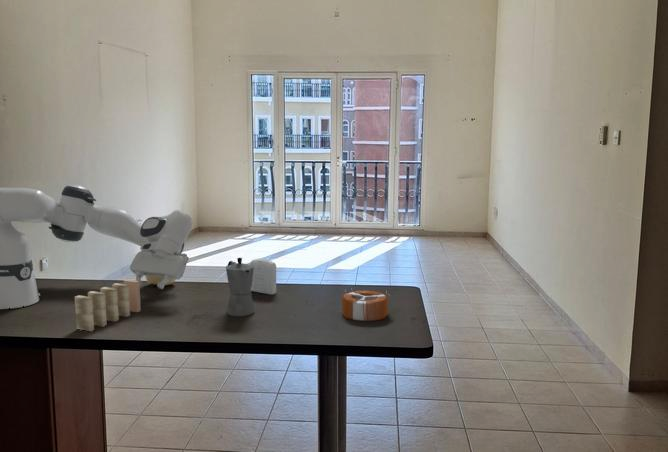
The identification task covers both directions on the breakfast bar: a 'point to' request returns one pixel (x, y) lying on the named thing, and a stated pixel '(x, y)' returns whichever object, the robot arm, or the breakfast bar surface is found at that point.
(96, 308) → the domino
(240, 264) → the coffeepot
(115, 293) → the domino
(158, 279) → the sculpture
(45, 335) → the breakfast bar surface
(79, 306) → the domino
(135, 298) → the domino
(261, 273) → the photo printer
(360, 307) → the coil
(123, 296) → the domino
